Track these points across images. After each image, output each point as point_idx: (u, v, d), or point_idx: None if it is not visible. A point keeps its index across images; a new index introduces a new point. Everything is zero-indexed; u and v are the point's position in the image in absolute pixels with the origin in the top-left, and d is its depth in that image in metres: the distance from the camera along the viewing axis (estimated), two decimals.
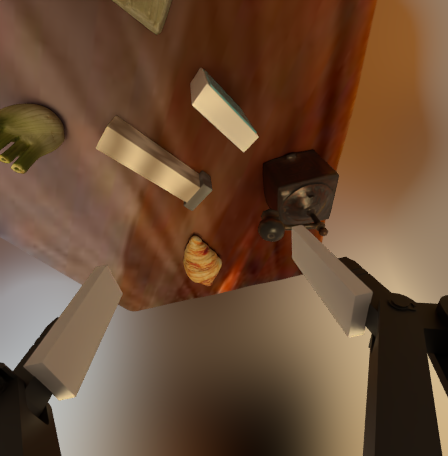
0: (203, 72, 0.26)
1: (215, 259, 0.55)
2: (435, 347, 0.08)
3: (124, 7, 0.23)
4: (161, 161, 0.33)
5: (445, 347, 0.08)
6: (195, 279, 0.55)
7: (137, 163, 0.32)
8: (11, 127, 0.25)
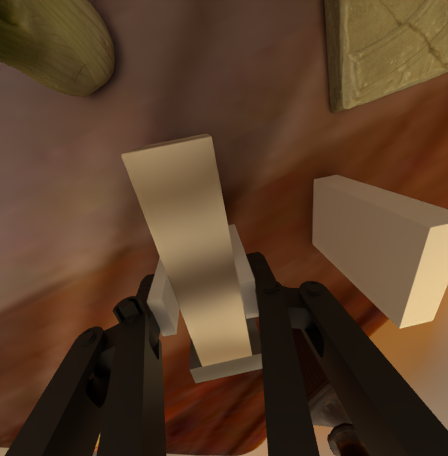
0: (367, 185, 0.18)
1: None
2: (296, 322, 0.10)
3: (346, 54, 0.15)
4: None
5: (303, 323, 0.10)
6: None
7: (188, 251, 0.11)
8: None
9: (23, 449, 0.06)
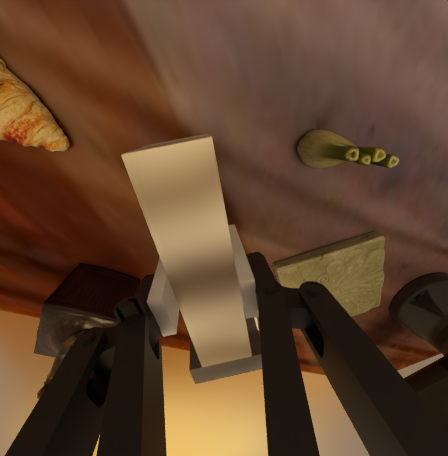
0: None
1: None
2: (296, 322, 0.10)
3: (297, 264, 0.37)
4: None
5: (303, 323, 0.10)
6: None
7: (188, 252, 0.11)
8: None
9: (23, 449, 0.06)
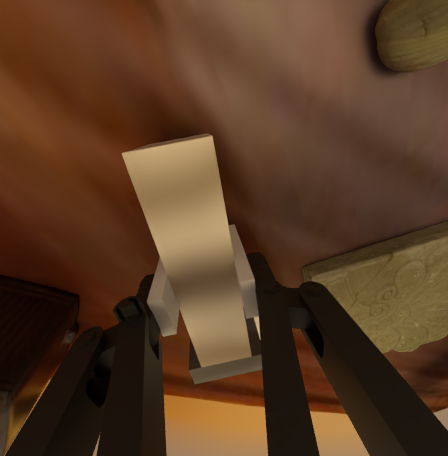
0: None
1: None
2: (296, 322, 0.10)
3: (347, 270, 0.21)
4: None
5: (303, 323, 0.10)
6: None
7: (188, 251, 0.11)
8: None
9: (23, 449, 0.06)
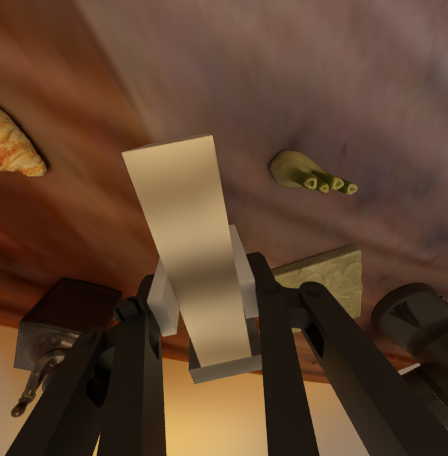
0: None
1: None
2: (296, 322, 0.10)
3: (275, 278, 0.37)
4: None
5: (303, 323, 0.10)
6: None
7: (188, 251, 0.11)
8: None
9: (23, 449, 0.06)
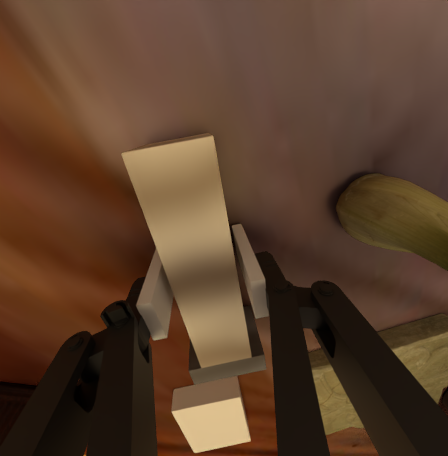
0: None
1: None
2: (308, 322, 0.10)
3: (323, 371, 0.23)
4: (237, 278, 0.13)
5: (314, 323, 0.09)
6: None
7: (188, 252, 0.11)
8: None
9: None
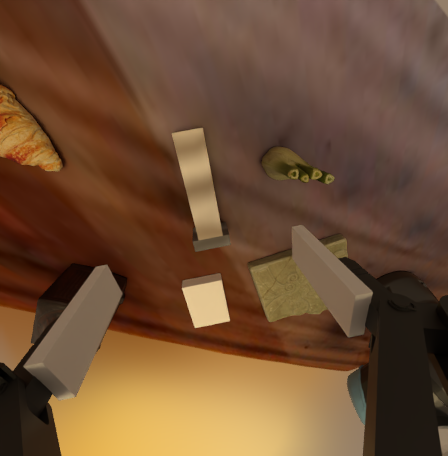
0: None
1: None
2: (434, 347, 0.08)
3: (268, 264, 0.41)
4: None
5: (445, 347, 0.08)
6: None
7: (193, 174, 0.29)
8: None
9: None
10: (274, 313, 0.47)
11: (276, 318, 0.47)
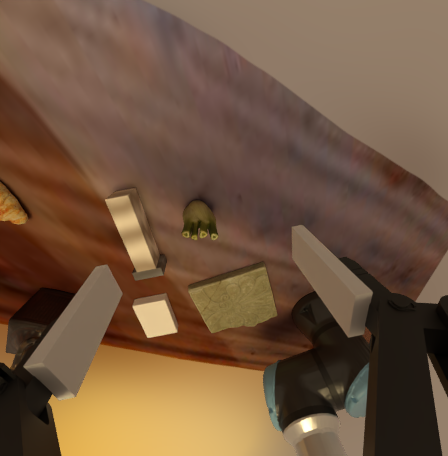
0: None
1: None
2: (435, 347, 0.08)
3: (202, 287, 0.50)
4: (143, 235, 0.40)
5: (444, 347, 0.08)
6: None
7: (125, 226, 0.38)
8: None
9: None
10: (214, 326, 0.56)
11: (217, 330, 0.57)
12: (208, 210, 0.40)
